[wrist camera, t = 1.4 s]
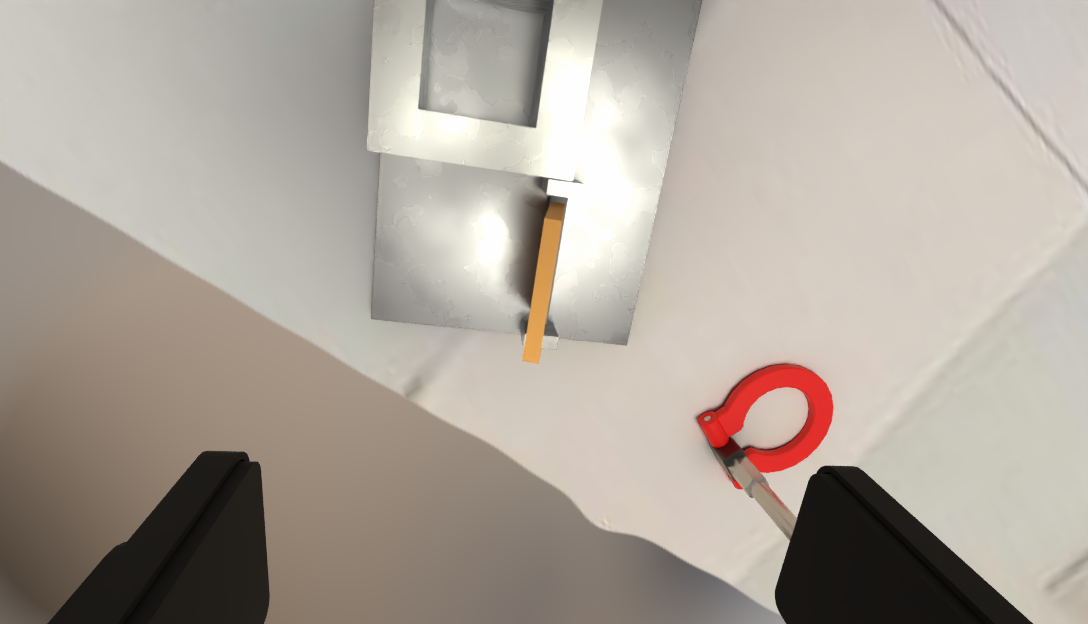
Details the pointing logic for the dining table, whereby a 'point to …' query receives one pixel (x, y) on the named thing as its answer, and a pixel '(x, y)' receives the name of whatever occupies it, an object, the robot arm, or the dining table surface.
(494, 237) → the plate
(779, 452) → the tow hook
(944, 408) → the dining table surface
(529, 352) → the tab
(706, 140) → the dining table surface
